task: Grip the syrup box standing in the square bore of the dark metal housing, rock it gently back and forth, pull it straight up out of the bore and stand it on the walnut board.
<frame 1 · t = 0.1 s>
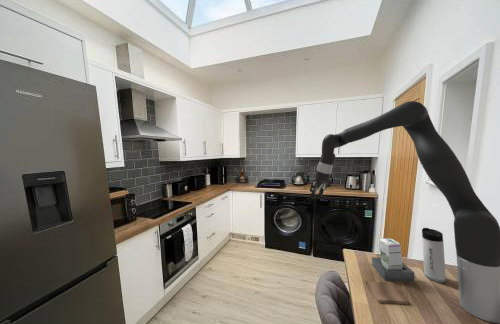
hand: (316, 197, 102), 31 cm above the table, tool tilted 20°, fingers open, 8 cm apart
travel mug: (434, 278, 76), on the table
syrup box: (392, 273, 80), resting in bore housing
walnut board: (385, 293, 69), on the table
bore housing: (391, 273, 80), on the table
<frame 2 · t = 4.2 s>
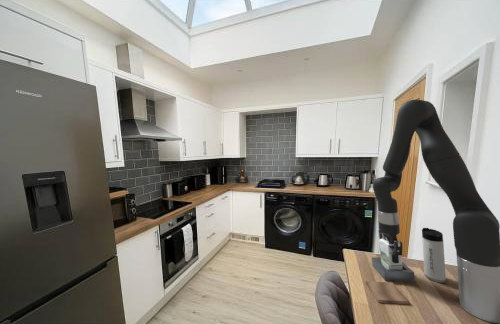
hand: (390, 258, 80), 7 cm above the table, tool pointing down, fingers closed on syrup box, 6 cm apart
syrup box: (392, 273, 80), resting in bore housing, touching gripper
everything else where it was.
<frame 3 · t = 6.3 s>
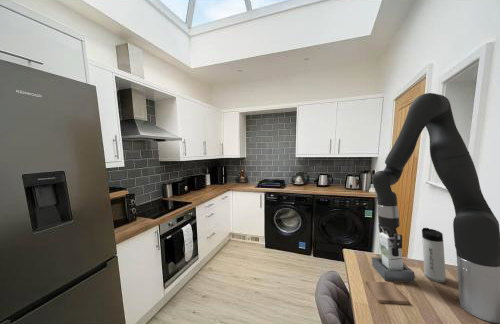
hand: (390, 252, 80), 10 cm above the table, tool pointing down, fingers closed on syrup box, 6 cm apart
syrup box: (392, 267, 80), point 3 cm above the table, touching gripper
everything else where it was.
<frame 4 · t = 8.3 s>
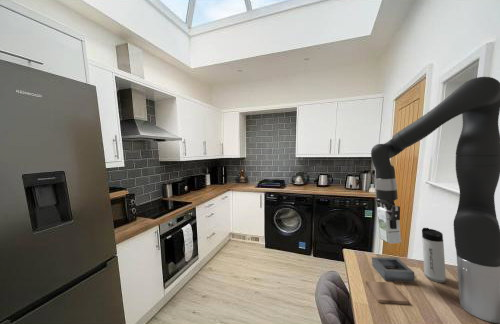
hand: (388, 225, 80), 21 cm above the table, tool pointing down, fingers closed on syrup box, 6 cm apart
syrup box: (390, 241, 80), point 15 cm above the table, touching gripper
everything else where it was.
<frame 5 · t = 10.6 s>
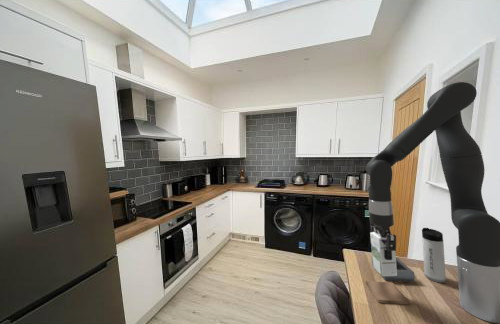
hand: (383, 254, 69), 15 cm above the table, tool pointing down, fingers closed on syrup box, 6 cm apart
syrup box: (384, 272, 69), point 8 cm above the table, touching gripper
everything else where it was.
when the fingers open (9 cm above the table, at t = 12.6 s): syrup box drops 1 cm, resting on walnut board.
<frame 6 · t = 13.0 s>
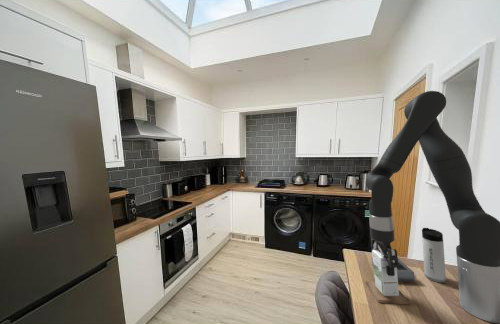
hand: (384, 268, 69), 10 cm above the table, tool pointing down, fingers open, 8 cm apart
syrup box: (386, 291, 69), point 1 cm above the table, touching walnut board
everything else where it was.
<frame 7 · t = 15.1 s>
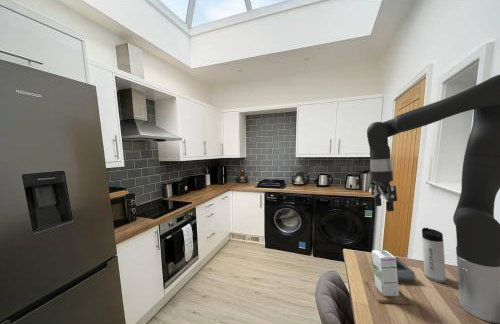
hand: (384, 208, 76), 31 cm above the table, tool pointing down, fingers open, 8 cm apart
nothing on the table moved.
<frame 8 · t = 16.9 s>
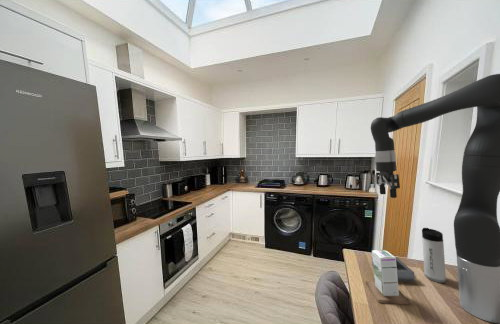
hand: (387, 195, 83), 34 cm above the table, tool pointing down, fingers open, 8 cm apart
nothing on the table moved.
at the end: syrup box inside the target area on the walnut board (0.1 cm from its centre), point 0.8 cm above the walnut board's base; syrup box tilted 0°; the gripper is holding nothing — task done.
